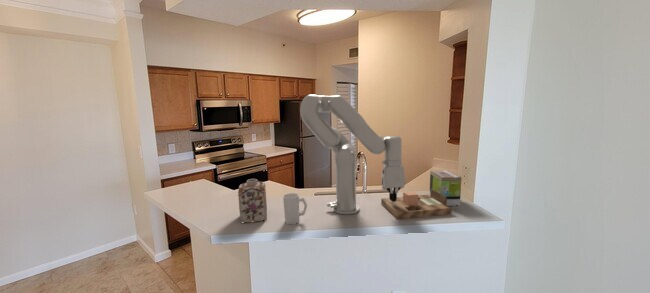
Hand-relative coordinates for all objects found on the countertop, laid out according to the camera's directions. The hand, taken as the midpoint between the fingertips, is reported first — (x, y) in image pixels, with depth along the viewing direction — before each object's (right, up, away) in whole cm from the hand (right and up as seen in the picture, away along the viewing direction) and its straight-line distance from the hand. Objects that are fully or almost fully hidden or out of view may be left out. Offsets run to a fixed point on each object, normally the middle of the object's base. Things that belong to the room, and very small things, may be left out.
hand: (393, 200), depth 123 cm
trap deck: (+11, -4, +2) cm, 12 cm away
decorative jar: (-65, -8, -2) cm, 66 cm away
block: (+9, -2, +2) cm, 9 cm away
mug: (-45, -8, -8) cm, 46 cm away
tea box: (+30, -3, +12) cm, 32 cm away
